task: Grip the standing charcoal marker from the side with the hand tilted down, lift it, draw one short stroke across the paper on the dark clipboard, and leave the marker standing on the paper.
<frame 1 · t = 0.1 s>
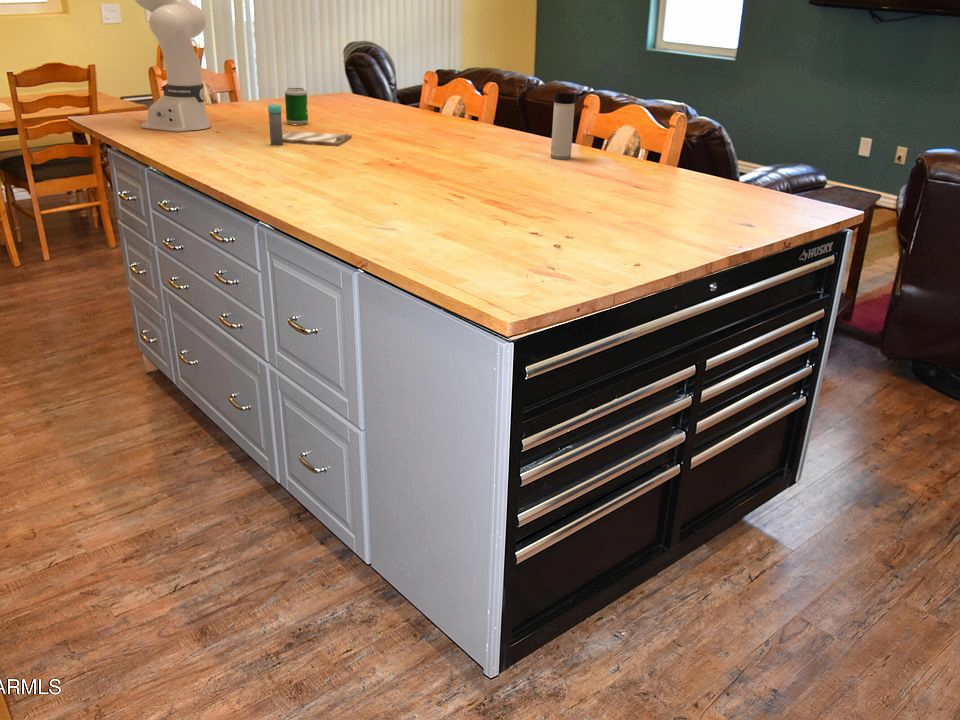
soda can: (297, 124, 318), on the counter
travel mug: (560, 158, 279), on the counter
marker: (276, 144, 284), on the counter
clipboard: (312, 139, 292), on the counter
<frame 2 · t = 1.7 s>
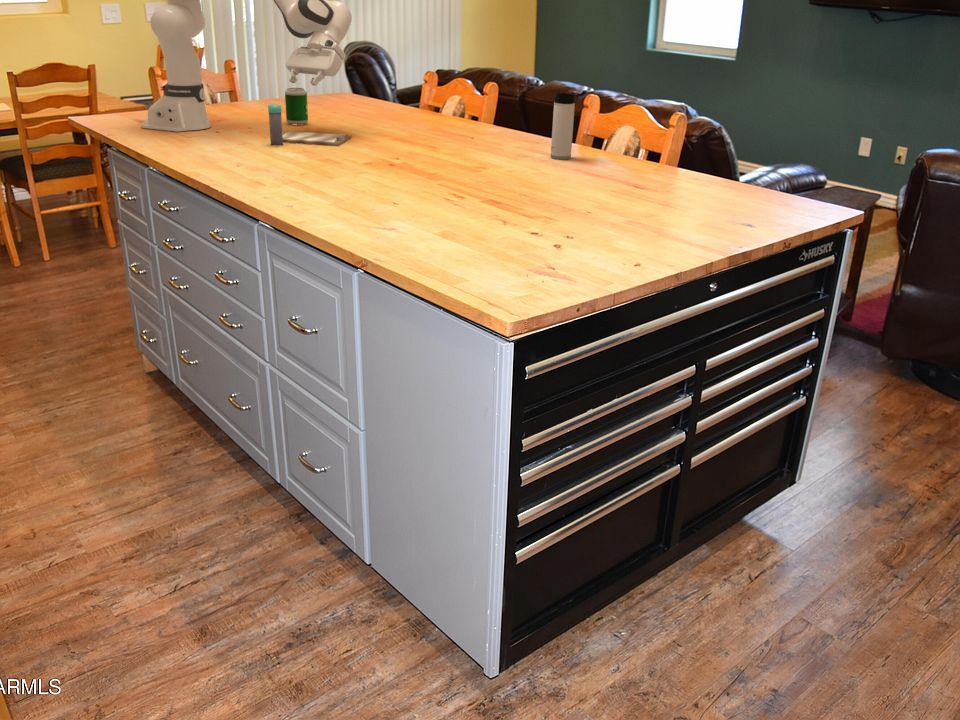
hand: (302, 83, 286), 18 cm above the counter, tool tilted 45°, fingers open, 8 cm apart
nothing on the counter moved.
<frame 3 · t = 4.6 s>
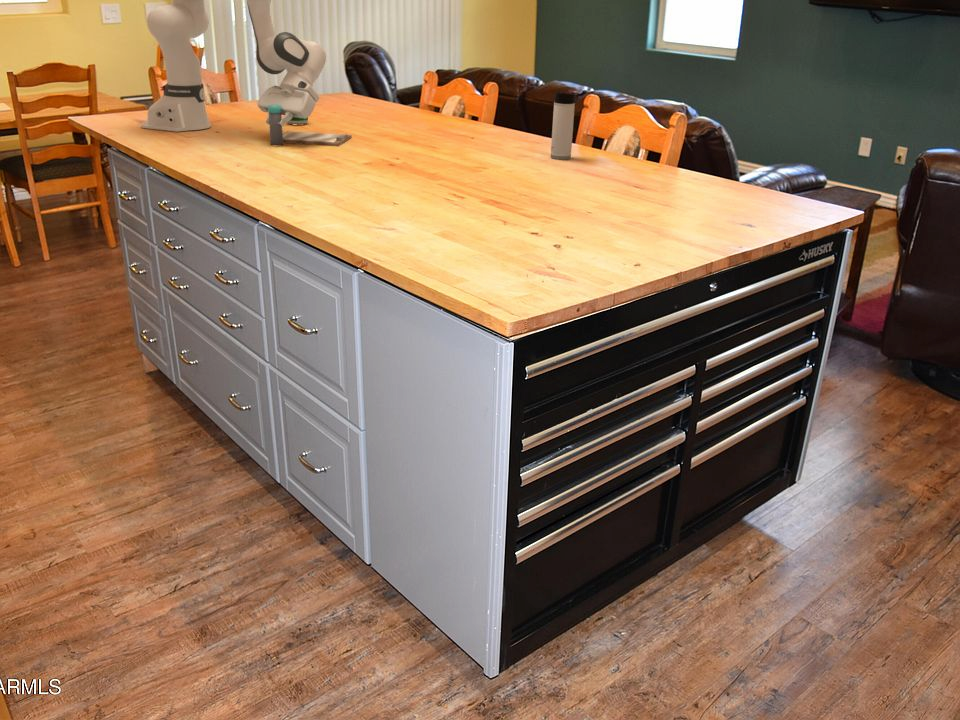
hand: (274, 124, 280), 6 cm above the counter, tool tilted 45°, fingers closed on marker, 4 cm apart
marker: (276, 144, 284), on the counter, touching gripper
everything else where it was.
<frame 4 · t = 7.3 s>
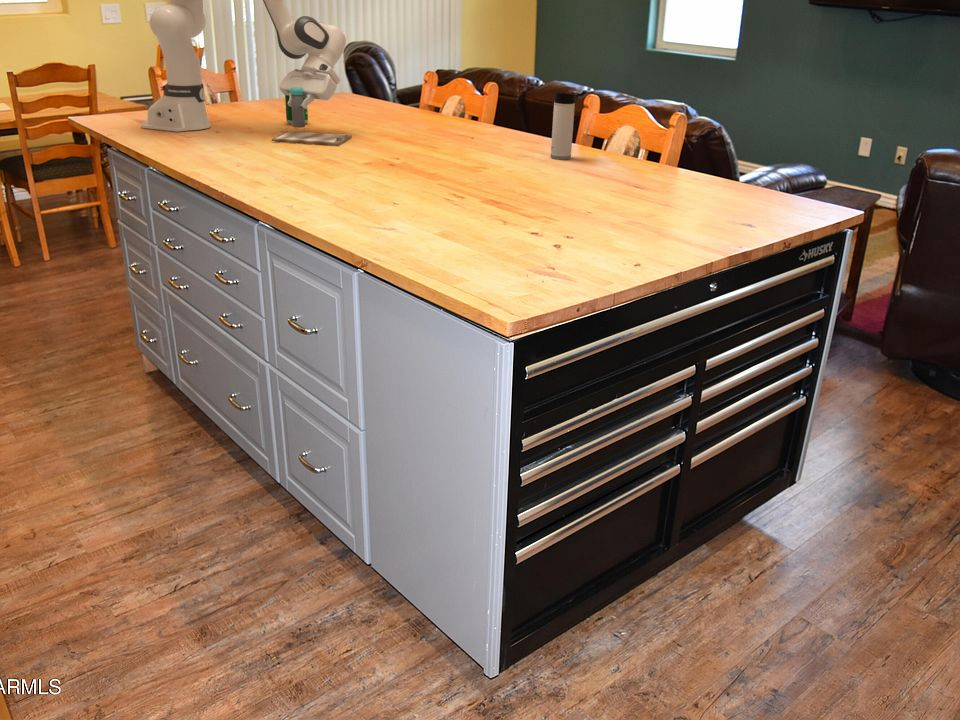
hand: (296, 106, 286), 11 cm above the counter, tool tilted 45°, fingers closed on marker, 4 cm apart
marker: (298, 126, 289), point 4 cm above the counter, touching gripper
everything else where it was.
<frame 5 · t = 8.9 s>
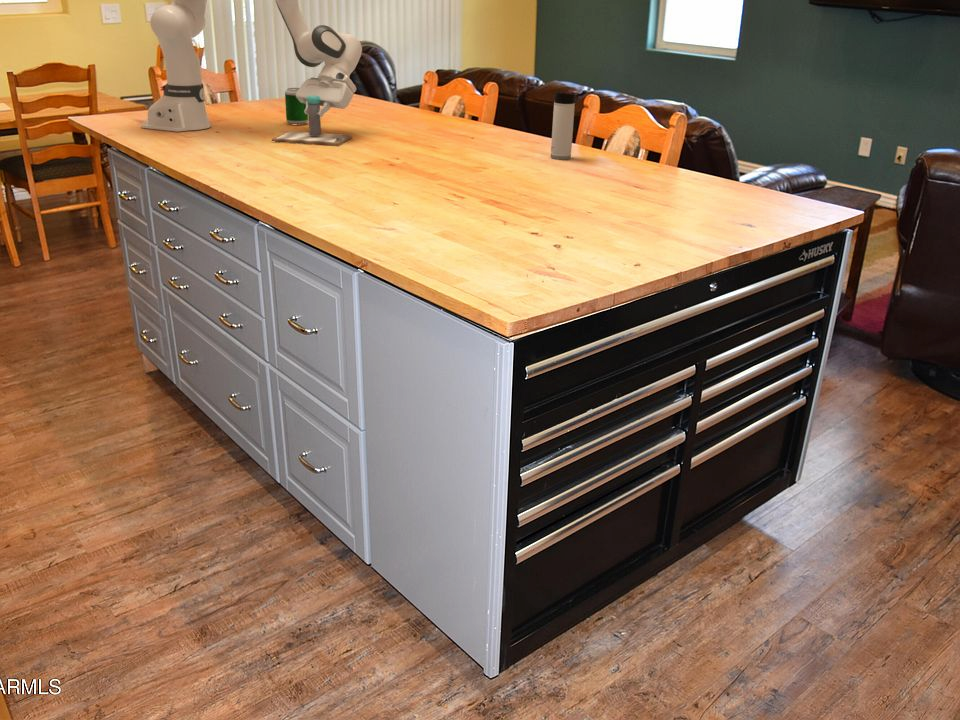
hand: (312, 114, 289), 8 cm above the counter, tool tilted 45°, fingers closed on marker, 4 cm apart
marker: (315, 134, 292), point 2 cm above the counter, touching gripper
everything else where it was.
when the fingers open (8 cm above the counter, at t = 10.3 s): marker stays where it is, resting on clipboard.
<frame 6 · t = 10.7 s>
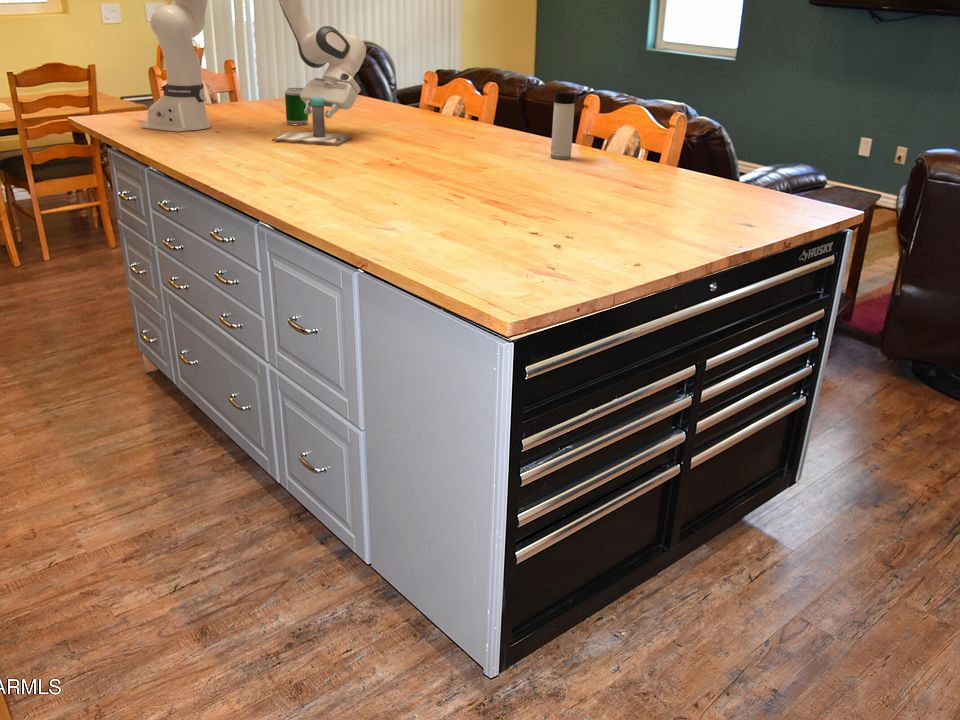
hand: (317, 115, 289), 8 cm above the counter, tool tilted 45°, fingers open, 8 cm apart
marker: (319, 136, 293), point 1 cm above the counter, touching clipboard
everything else where it was.
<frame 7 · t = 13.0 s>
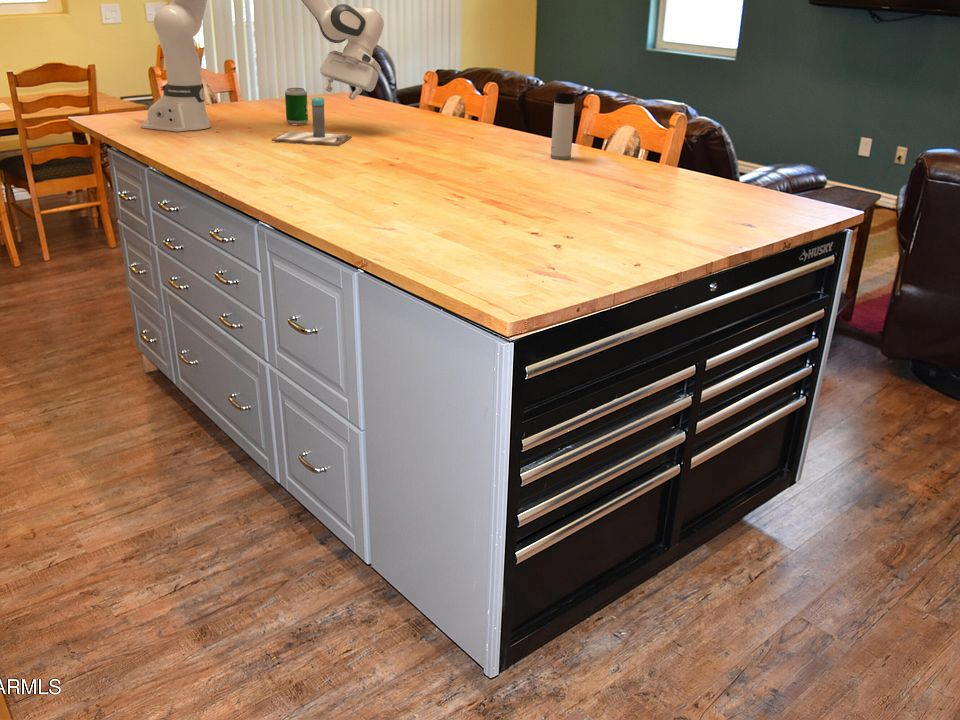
hand: (339, 95, 298), 13 cm above the counter, tool tilted 35°, fingers open, 8 cm apart
nothing on the counter moved.
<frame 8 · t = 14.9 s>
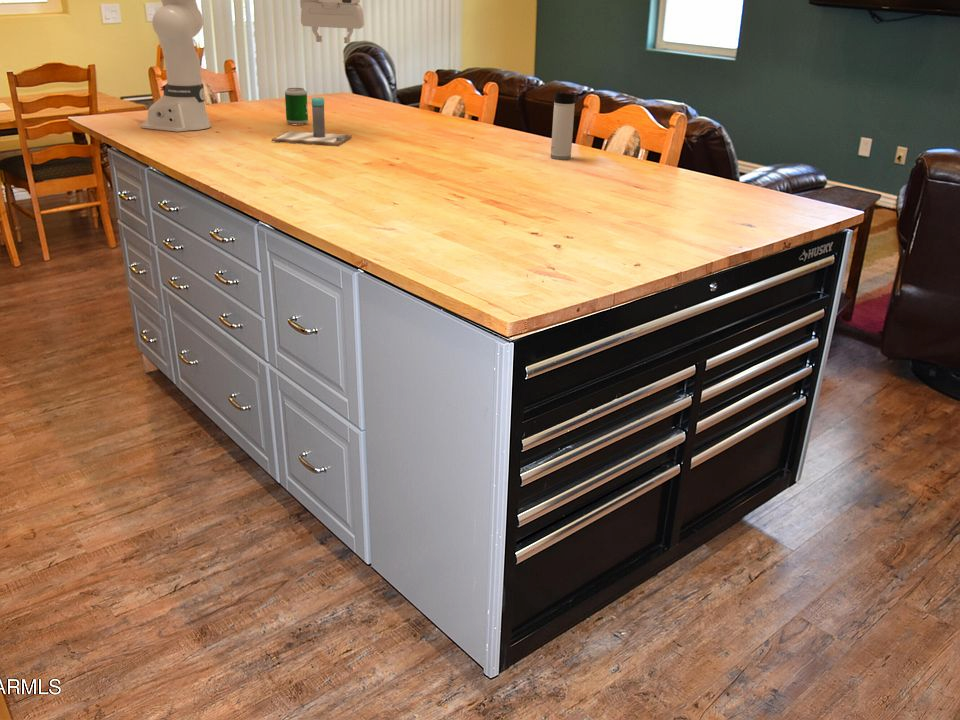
hand: (333, 42, 292), 29 cm above the counter, tool pointing down, fingers open, 8 cm apart
nothing on the counter moved.
at the end: marker inside the target area on the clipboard (2.2 cm from its centre), point 1.0 cm above the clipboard's base; the gripper is holding nothing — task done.
